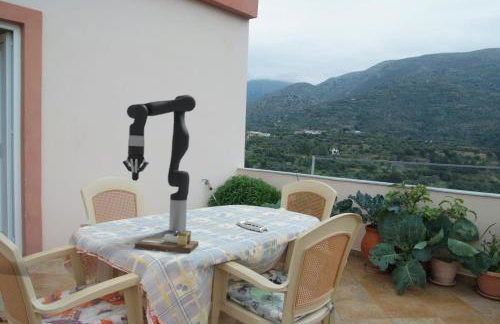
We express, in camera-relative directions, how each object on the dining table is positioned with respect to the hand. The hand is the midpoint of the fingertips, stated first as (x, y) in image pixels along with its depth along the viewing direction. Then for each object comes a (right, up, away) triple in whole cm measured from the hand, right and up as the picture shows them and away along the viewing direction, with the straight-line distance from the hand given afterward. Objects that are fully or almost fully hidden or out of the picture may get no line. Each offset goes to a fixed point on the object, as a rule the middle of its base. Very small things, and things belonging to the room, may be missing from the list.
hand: (135, 180), depth 172 cm
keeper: (+26, -29, -11) cm, 40 cm away
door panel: (+18, -30, -10) cm, 37 cm away
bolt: (+22, -28, -11) cm, 37 cm away
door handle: (+58, -31, +38) cm, 76 cm away
